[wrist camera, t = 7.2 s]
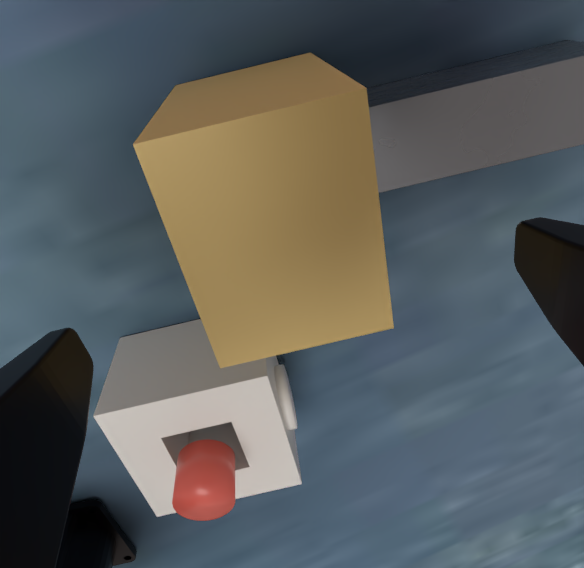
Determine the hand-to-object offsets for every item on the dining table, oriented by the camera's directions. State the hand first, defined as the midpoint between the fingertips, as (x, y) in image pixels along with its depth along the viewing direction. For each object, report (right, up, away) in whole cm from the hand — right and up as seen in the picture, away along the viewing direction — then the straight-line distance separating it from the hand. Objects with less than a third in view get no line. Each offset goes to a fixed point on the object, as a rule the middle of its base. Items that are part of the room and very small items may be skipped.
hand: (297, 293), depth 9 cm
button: (-4, -7, +10) cm, 13 cm away
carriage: (-1, +5, +9) cm, 11 cm away
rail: (+3, +6, +9) cm, 12 cm away
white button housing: (-4, -5, +15) cm, 16 cm away
